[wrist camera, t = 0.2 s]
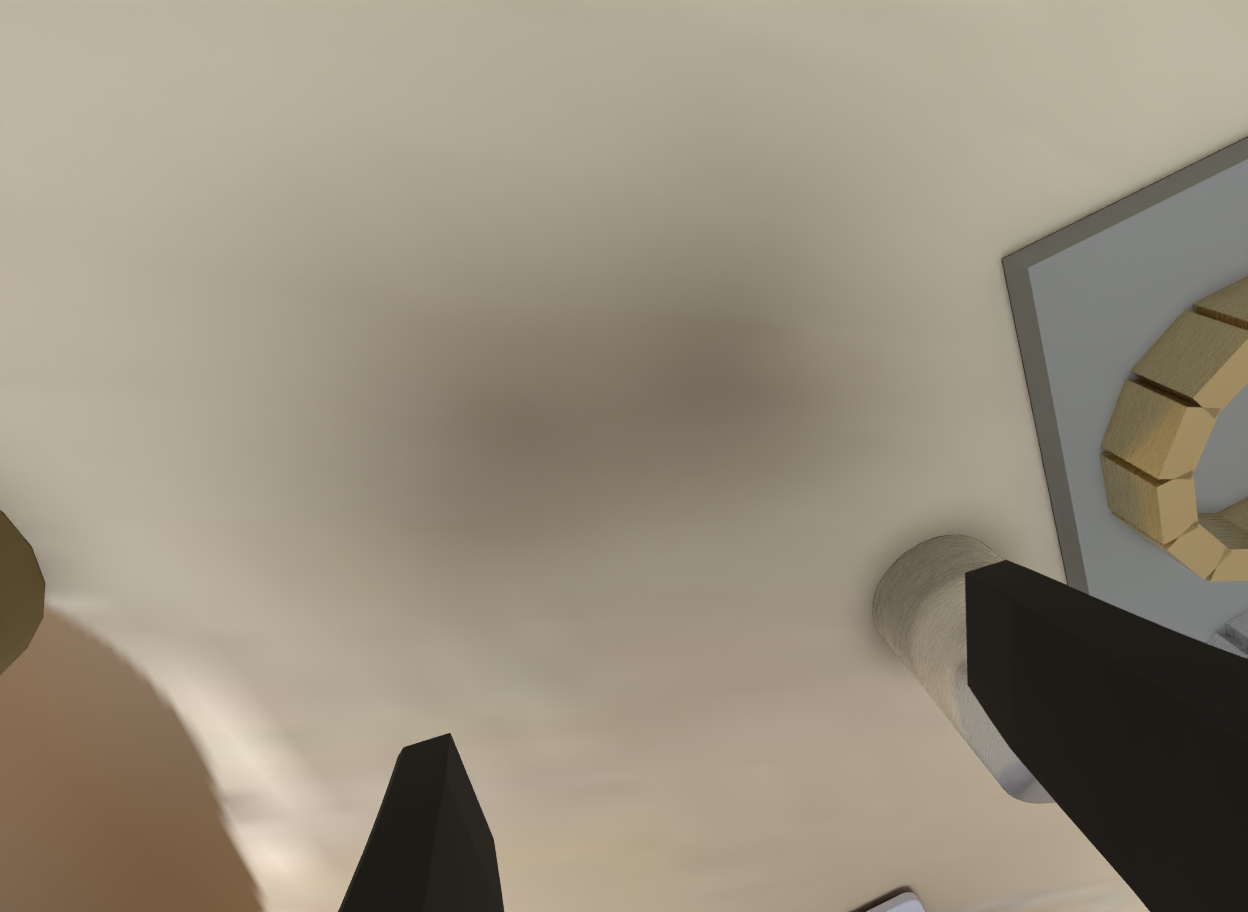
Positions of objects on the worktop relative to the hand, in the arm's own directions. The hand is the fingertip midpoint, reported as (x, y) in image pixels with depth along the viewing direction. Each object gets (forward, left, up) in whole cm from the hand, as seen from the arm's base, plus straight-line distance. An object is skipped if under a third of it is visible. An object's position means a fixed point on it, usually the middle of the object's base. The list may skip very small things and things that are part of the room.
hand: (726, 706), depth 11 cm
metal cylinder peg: (-10, -7, -10) cm, 16 cm away
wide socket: (-8, -16, -10) cm, 20 cm away
